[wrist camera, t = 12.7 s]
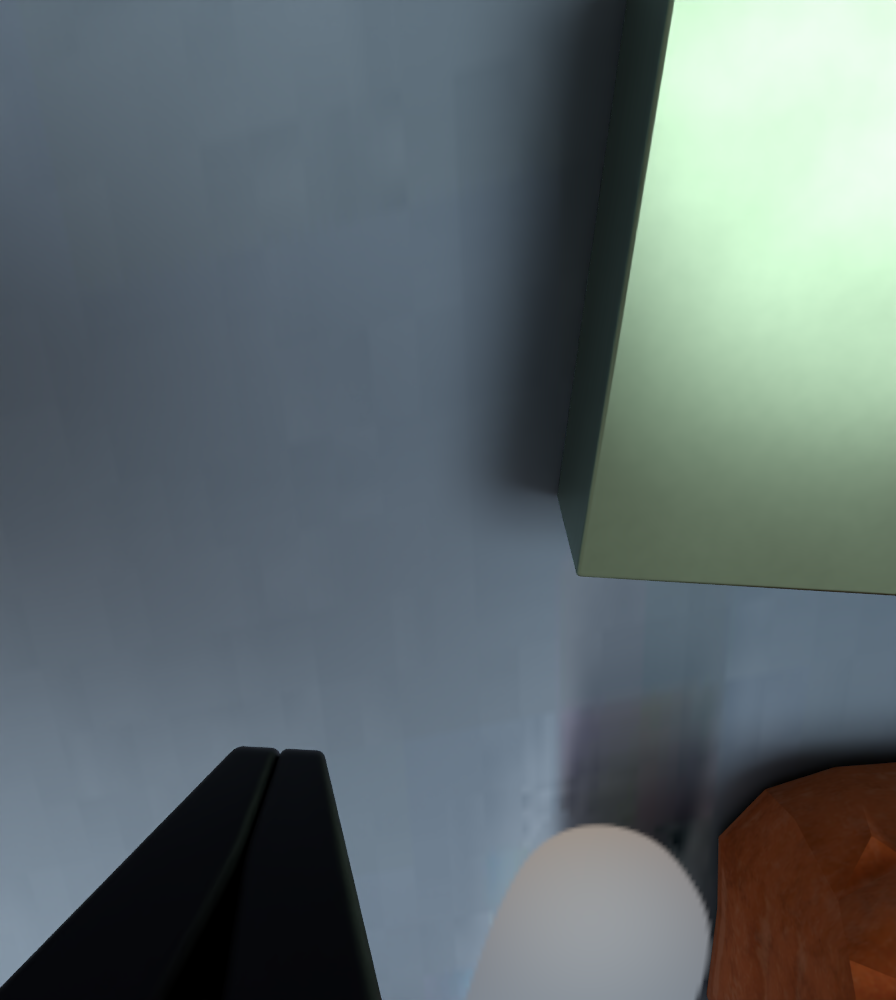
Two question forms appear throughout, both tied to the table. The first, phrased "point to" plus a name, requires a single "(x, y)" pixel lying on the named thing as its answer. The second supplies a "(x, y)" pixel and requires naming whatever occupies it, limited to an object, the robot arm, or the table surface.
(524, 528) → the table surface
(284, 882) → the robot arm
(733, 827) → the bread
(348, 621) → the table surface
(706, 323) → the block
